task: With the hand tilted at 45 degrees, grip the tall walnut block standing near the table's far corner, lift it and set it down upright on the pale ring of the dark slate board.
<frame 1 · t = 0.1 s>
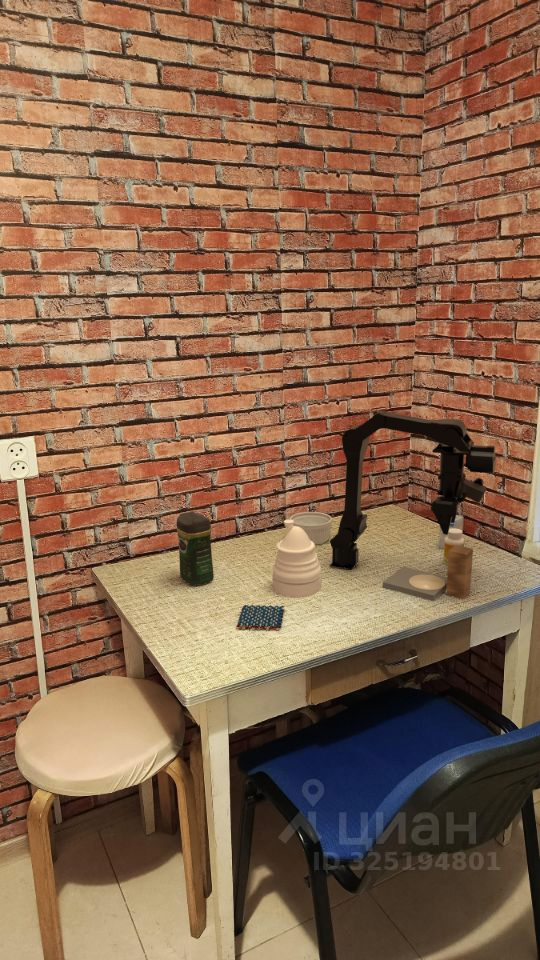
hand: (448, 528, 167), 15 cm above the table, tool pointing down, fingers open, 9 cm apart
honey pot: (297, 587, 170), on the table
walnut block: (458, 593, 163), on the table
slate board: (417, 585, 168), on the table
coffee jar: (197, 579, 175), on the table
medicine box: (450, 546, 194), on the table
woven mat: (260, 622, 153), on the table
supplement bottle: (453, 563, 181), on the table
ramekin: (311, 539, 202), on the table
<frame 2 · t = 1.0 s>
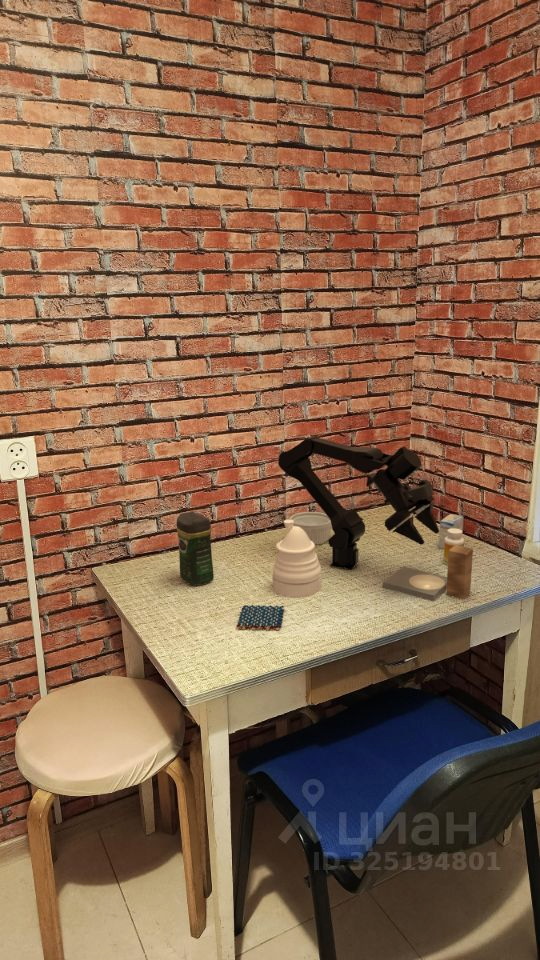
hand: (430, 538, 164), 13 cm above the table, tool tilted 45°, fingers open, 9 cm apart
nothing on the table moved.
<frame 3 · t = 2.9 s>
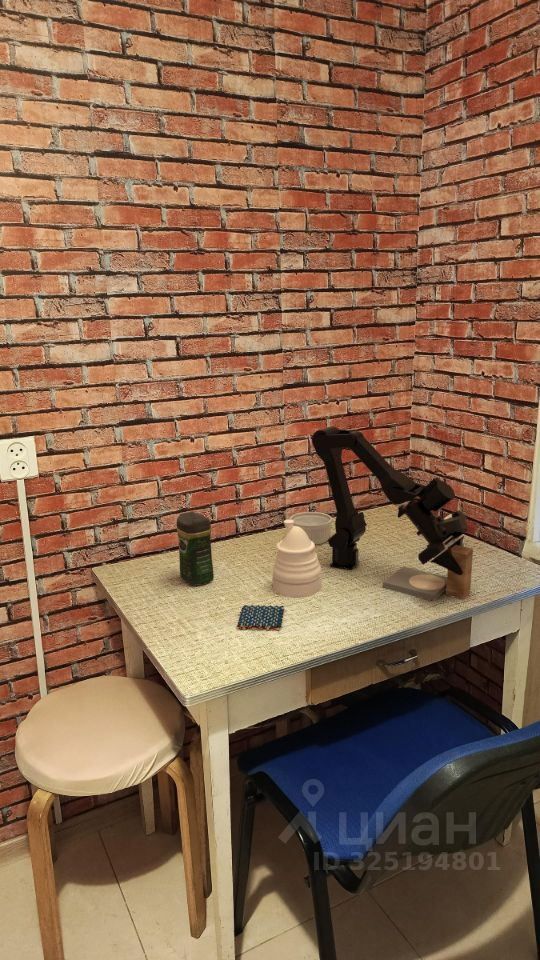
hand: (465, 570, 160), 7 cm above the table, tool tilted 45°, fingers closed on walnut block, 4 cm apart
walnut block: (458, 593, 163), on the table, touching gripper
everything else where it was.
when the fingers open (9 cm above the table, at t = 5.6 s): walnut block drops 1 cm, resting on slate board.
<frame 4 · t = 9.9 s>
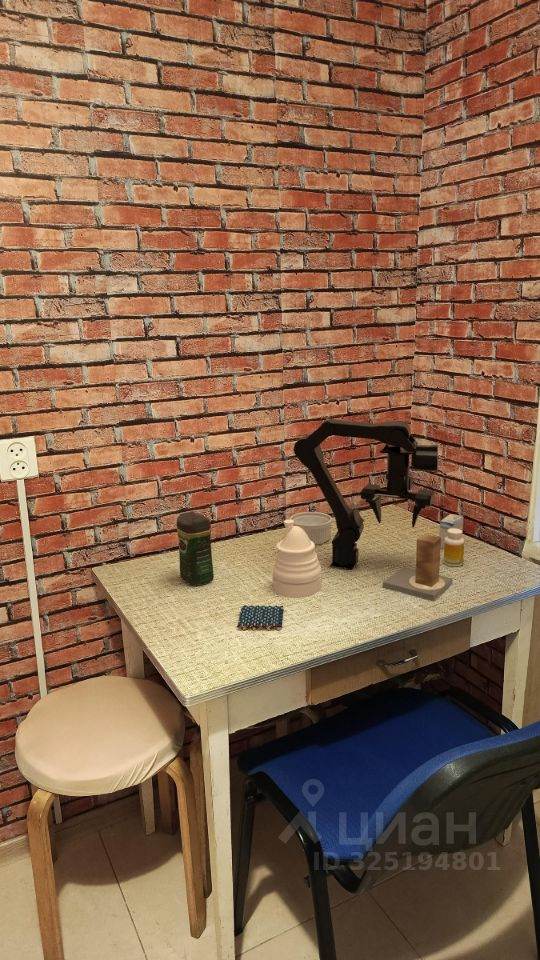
hand: (396, 524, 175), 13 cm above the table, tool pointing down, fingers open, 9 cm apart
walnut block: (427, 581, 166), point 2 cm above the table, touching slate board
everything else where it was.
at the end: walnut block inside the target area (0.0 cm from its centre), point 1.7 cm above the table; walnut block tilted 0°; the gripper is holding nothing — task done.
